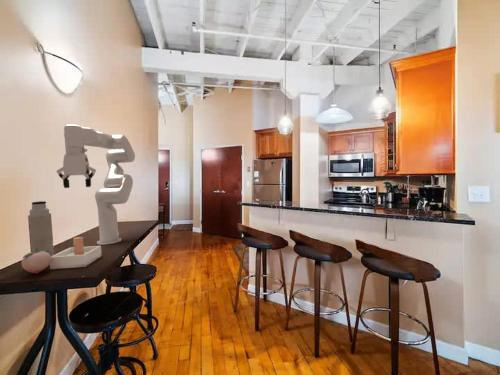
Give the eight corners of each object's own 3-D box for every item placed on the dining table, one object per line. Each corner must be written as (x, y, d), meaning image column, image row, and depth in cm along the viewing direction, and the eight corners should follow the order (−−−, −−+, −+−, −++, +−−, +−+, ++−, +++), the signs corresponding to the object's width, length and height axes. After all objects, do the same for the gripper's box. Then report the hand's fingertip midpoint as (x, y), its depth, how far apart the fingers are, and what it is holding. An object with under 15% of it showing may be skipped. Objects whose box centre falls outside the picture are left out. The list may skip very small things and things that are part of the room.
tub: (70, 258, 125) (69, 247, 125) (101, 256, 126) (100, 245, 126) (50, 269, 110) (49, 257, 110) (85, 266, 111) (84, 255, 111)
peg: (77, 258, 120) (76, 237, 119) (85, 258, 120) (84, 236, 120) (73, 261, 116) (71, 239, 116) (81, 260, 117) (80, 238, 116)
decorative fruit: (36, 278, 100) (34, 252, 100) (18, 277, 102) (16, 252, 101) (57, 269, 109) (56, 245, 109) (41, 268, 111) (39, 245, 110)
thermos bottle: (28, 268, 111) (23, 203, 110) (35, 263, 119) (30, 201, 117) (51, 265, 114) (47, 201, 113) (56, 260, 122) (52, 200, 120)
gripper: (98, 151, 130) (100, 186, 131) (60, 152, 128) (63, 187, 129) (90, 150, 123) (92, 187, 123) (50, 151, 121) (53, 188, 122)
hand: (77, 187), depth 126 cm, fingers open, 9 cm apart
